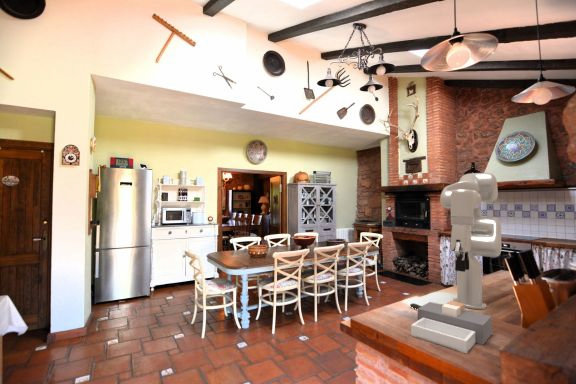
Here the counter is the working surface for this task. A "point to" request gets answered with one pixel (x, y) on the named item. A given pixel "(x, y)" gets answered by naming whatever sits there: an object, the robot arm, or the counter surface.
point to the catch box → (444, 334)
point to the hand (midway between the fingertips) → (462, 269)
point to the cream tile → (451, 310)
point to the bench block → (460, 320)
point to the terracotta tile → (458, 305)
